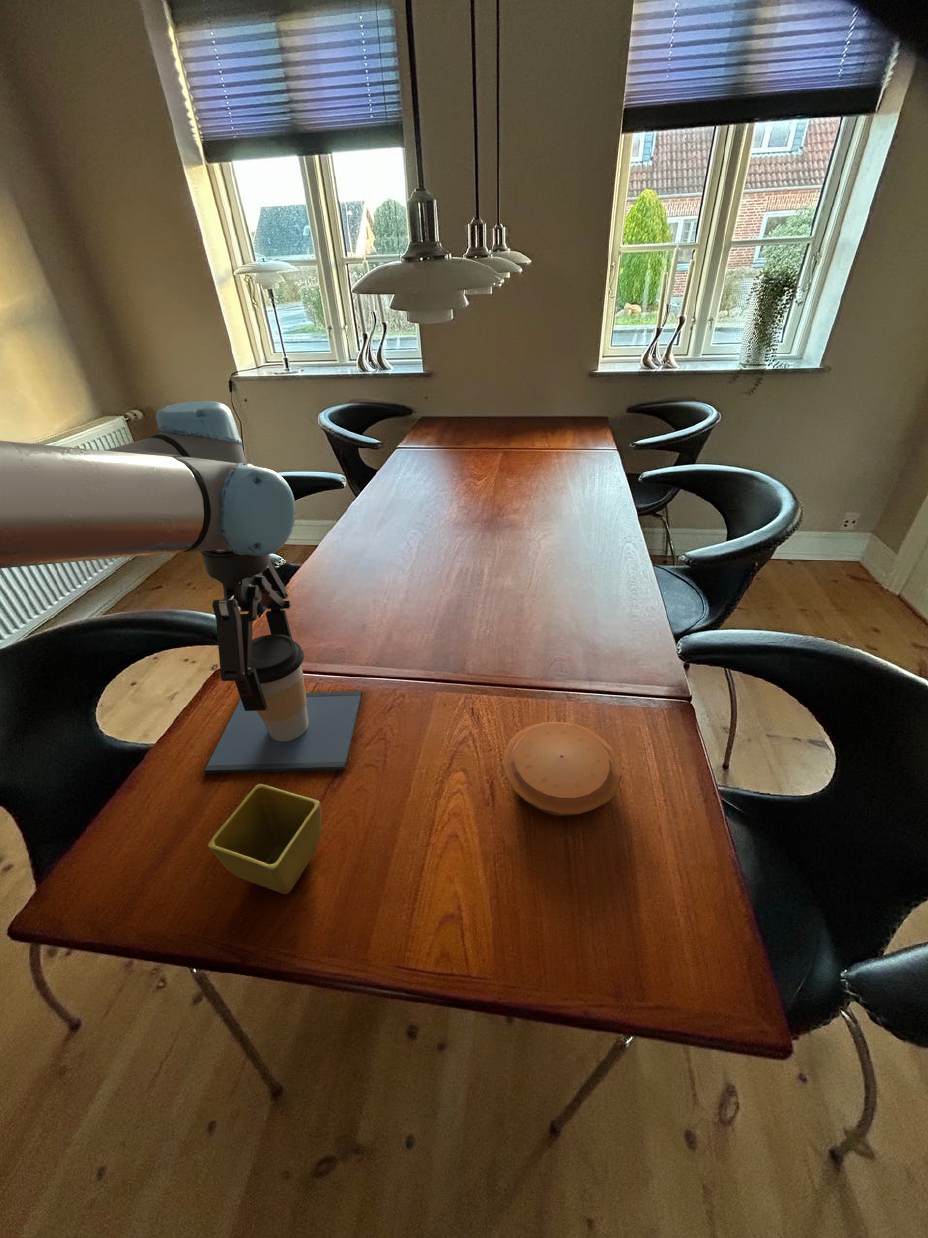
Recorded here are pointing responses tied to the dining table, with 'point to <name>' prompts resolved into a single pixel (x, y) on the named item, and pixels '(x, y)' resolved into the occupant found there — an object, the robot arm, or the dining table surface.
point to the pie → (561, 768)
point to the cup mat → (313, 750)
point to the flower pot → (269, 838)
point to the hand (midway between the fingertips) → (271, 676)
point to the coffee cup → (281, 685)
